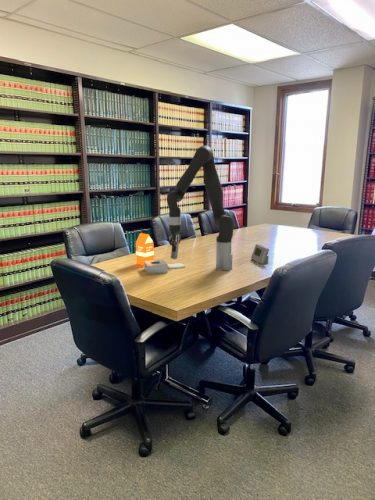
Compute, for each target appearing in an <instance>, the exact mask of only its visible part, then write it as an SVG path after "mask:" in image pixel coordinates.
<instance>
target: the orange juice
mask: <svg viewBox="0 0 375 500" xmlns="http://www.w3.org/2000/svg"><path fill="white" fill-rule="evenodd" d="M154 250H155V246H154V241H153V239H152V238H151V236H150V234H148V233H143V232H140V233H139V235H138V237H137V239H136V241H135V254H136V255H135V256H136V257H135V258H136V265H139V264H140V266H143V265H144V261H152V260H155V256H154V255H155V251H154Z"/></svg>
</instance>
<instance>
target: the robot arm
mask: <svg viewBox="0 0 375 500" xmlns="http://www.w3.org/2000/svg"><path fill="white" fill-rule="evenodd" d="M201 168H202V170H203V173H204V174H203V176H204V186H205V190H206V194H207V198H208V201H209V205H210V206H211V207H210V208H211V211H212V216H213V220H214V221H213V222H214V225H215V227H216V228H217V229H218V235H217V236H216V239H215V240H216V243H215V244H216V246H215V247H216V248H215V249H216V250H215V251H216V252H215V253H216V254H215V255H216V256H215V268H216V270H218V271H229V270H232V269H233V253H232V241H233V239H232V238H233V237H234V220H233V218H232V217H231V216H229V215H227V214H226V211H225V208H224V192H223V187H222V183H221V180H220V178H219V177H220V176H219V174H218V171H217V168H216V164H215V157H214V152H213V150H212V148H211V147H210V146H209V145H206V144H205V145H204V144H203V145H202V146H200V147H198V148H197V149H196V150H195V152H194V155H193V157H192V159H191V161H190V163H189V165H188V167H187V168H186V169H185V171H184V172H183V174H182V175H181V177H180V178H179V180H178V181H177V183H176V185H175V187H176V189H175V190H174V191H168V193H167V195H166V202H167V207H168V231H169V232H170V236H167V239H168V244H169V245H170V246H171V251H173V252H175V251H176V249H175V245H176V244H175V242H176V241H180V242H181V240H182V233H180V232H182V218H181V213H182V212H181V207H180V206H178V203H180V202H181V201H182V200H183V198H184V197H185V194H186V192H187V190H188V189H189V187H190V186H191V184H192V183H193V181H194V180H195V177H196V176H197V174H198V172H199V171H200V169H201ZM173 240H175V241H173Z"/></svg>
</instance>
